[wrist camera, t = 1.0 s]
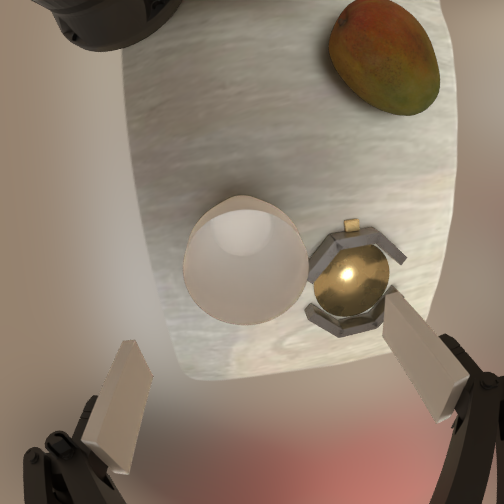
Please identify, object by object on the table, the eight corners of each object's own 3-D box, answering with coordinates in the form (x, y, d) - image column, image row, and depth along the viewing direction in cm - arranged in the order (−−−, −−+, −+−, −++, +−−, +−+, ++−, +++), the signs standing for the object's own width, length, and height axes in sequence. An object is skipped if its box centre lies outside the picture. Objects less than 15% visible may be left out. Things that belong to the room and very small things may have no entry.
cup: (199, 263, 33) (182, 323, 21) (201, 181, 30) (180, 203, 18) (279, 267, 33) (301, 328, 22) (288, 187, 30) (320, 212, 19)
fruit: (337, 4, 23) (371, -35, 14) (425, 59, 25) (477, 44, 16) (301, 81, 26) (331, 55, 17) (399, 135, 29) (453, 137, 19)
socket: (295, 228, 32) (299, 234, 30) (398, 212, 32) (407, 216, 30) (307, 341, 37) (310, 351, 35) (394, 320, 37) (400, 328, 35)
